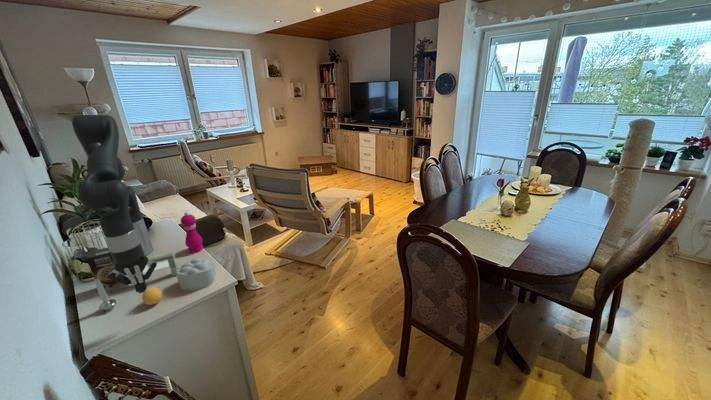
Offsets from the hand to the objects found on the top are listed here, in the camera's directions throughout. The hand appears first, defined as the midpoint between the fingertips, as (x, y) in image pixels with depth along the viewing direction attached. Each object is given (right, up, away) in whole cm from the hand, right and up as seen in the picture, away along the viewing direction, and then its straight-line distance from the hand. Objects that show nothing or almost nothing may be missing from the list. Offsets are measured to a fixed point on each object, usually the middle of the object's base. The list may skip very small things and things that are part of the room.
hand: (142, 291), depth 93 cm
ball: (-4, -5, +11) cm, 12 cm away
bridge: (-12, -3, +25) cm, 28 cm away
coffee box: (-26, -5, +22) cm, 34 cm away
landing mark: (-19, +1, +36) cm, 41 cm away
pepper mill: (-8, +5, +46) cm, 47 cm away
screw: (-19, -9, +9) cm, 23 cm away
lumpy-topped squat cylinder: (+6, -4, +22) cm, 23 cm away
